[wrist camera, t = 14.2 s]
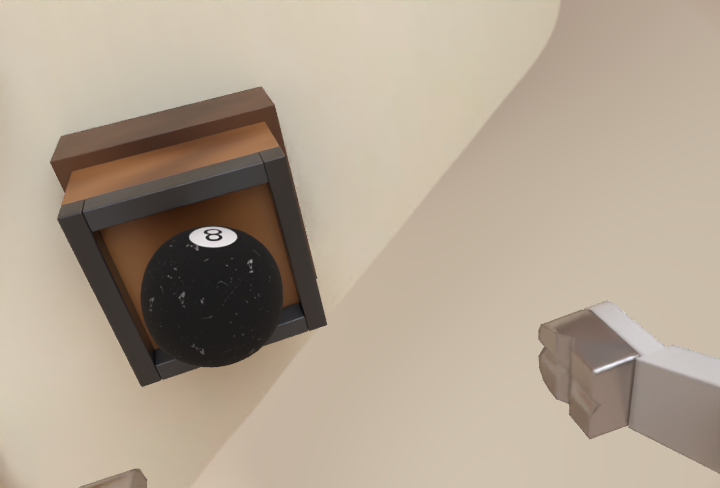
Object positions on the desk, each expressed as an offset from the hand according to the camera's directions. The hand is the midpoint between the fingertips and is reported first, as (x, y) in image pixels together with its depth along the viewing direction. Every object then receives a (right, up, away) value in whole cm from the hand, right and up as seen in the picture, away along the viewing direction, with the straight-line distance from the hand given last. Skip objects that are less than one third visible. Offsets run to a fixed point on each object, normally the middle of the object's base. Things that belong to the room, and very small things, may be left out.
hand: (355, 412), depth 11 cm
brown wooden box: (-10, +6, +23) cm, 26 cm away
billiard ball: (-7, +2, +17) cm, 18 cm away
